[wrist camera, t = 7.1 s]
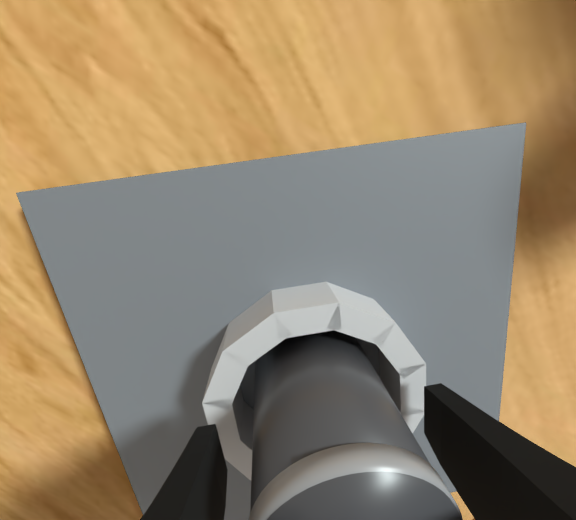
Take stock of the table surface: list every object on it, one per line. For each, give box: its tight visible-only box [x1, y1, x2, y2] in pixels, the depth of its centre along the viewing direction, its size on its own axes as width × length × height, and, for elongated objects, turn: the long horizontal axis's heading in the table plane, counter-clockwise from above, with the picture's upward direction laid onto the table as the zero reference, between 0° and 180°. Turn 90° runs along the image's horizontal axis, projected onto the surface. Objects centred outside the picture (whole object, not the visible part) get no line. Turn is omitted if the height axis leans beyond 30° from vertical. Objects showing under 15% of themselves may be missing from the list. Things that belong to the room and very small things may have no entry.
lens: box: [249, 330, 462, 520], centre depth 9 cm, size 5×5×6 cm
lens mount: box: [16, 123, 526, 520], centre depth 12 cm, size 18×18×3 cm
